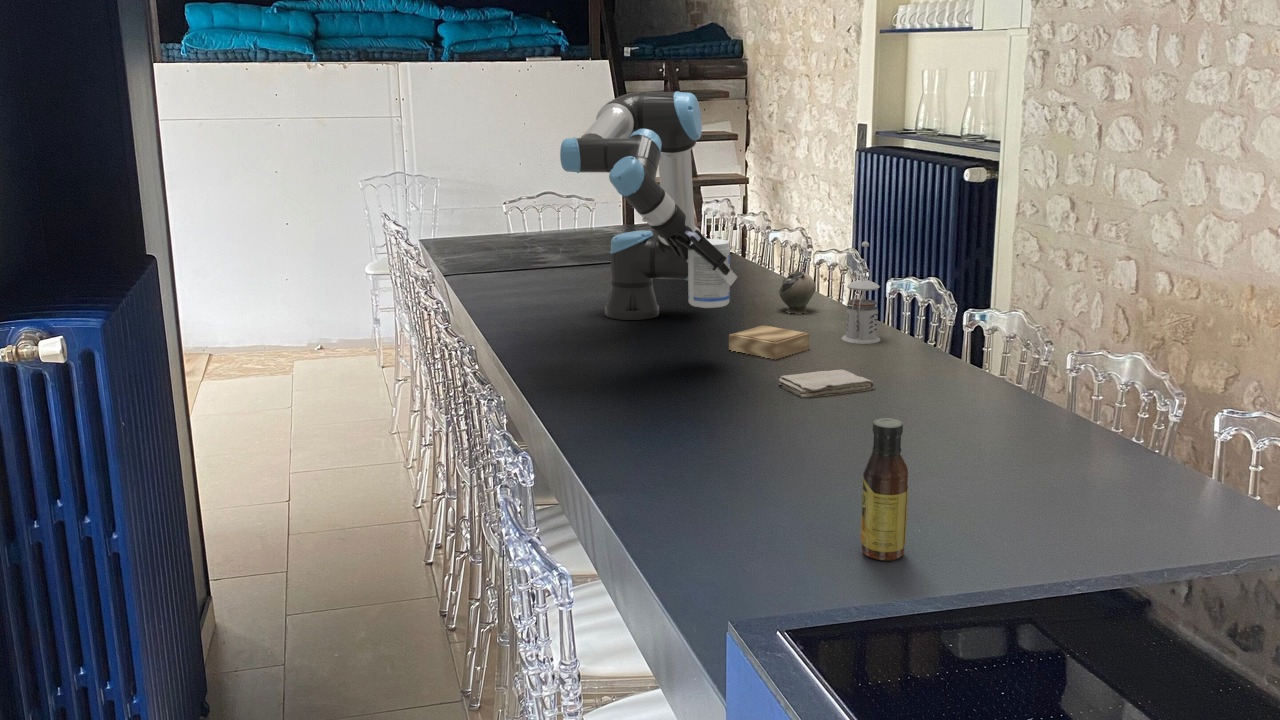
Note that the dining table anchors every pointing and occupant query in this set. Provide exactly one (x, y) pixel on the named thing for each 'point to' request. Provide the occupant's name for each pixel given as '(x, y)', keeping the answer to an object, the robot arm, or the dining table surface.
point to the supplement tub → (707, 279)
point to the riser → (769, 342)
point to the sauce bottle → (885, 494)
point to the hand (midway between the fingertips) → (719, 277)
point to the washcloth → (825, 383)
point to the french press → (861, 313)
